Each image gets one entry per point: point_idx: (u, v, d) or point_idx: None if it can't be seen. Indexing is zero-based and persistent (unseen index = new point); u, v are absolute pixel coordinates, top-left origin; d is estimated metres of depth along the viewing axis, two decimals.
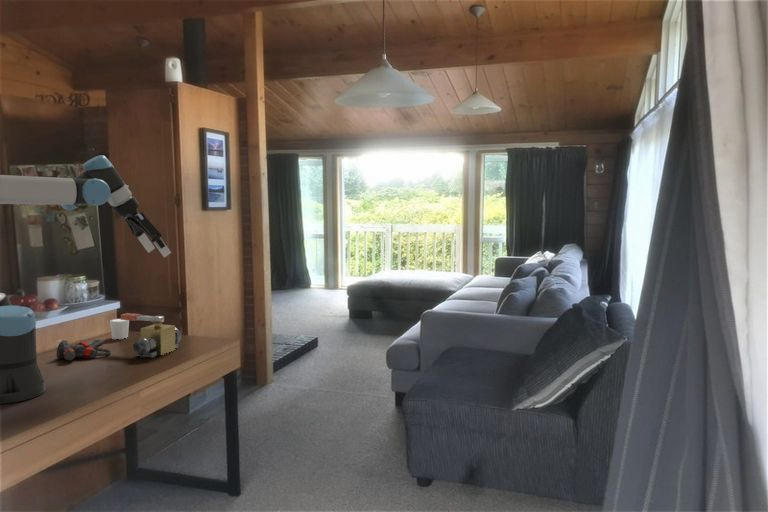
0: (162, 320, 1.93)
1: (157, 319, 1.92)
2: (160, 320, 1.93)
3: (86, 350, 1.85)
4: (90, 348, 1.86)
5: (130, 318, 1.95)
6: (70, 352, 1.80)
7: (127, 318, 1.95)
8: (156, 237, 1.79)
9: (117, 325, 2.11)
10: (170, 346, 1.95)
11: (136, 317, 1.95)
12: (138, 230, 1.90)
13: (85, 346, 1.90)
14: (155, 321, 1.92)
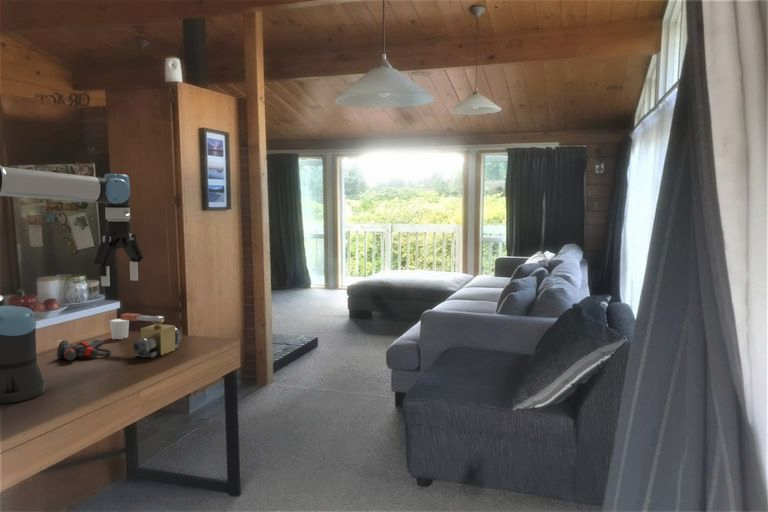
0: (162, 320, 1.93)
1: (157, 319, 1.92)
2: (160, 320, 1.93)
3: (87, 350, 1.85)
4: (91, 348, 1.86)
5: (130, 318, 1.95)
6: (71, 352, 1.80)
7: (127, 318, 1.95)
8: (95, 262, 1.78)
9: (117, 325, 2.11)
10: (170, 346, 1.95)
11: (136, 317, 1.95)
12: (131, 255, 1.93)
13: (85, 346, 1.90)
14: (155, 321, 1.92)
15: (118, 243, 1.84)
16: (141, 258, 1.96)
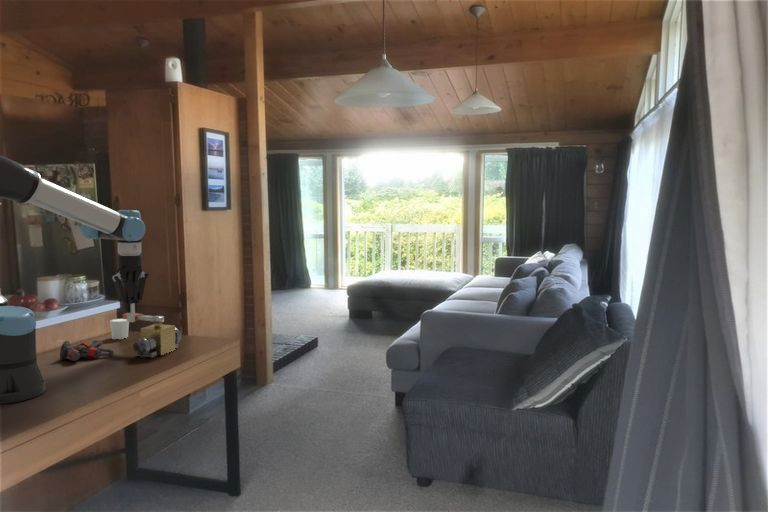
0: (162, 320, 1.93)
1: (157, 319, 1.92)
2: (160, 320, 1.93)
3: (90, 350, 1.85)
4: (94, 348, 1.86)
5: None
6: (75, 353, 1.80)
7: None
8: (120, 300, 1.91)
9: (117, 325, 2.11)
10: (170, 346, 1.95)
11: (137, 317, 1.95)
12: (132, 293, 1.94)
13: (87, 346, 1.90)
14: (155, 321, 1.92)
15: (129, 278, 1.91)
16: (139, 299, 1.96)
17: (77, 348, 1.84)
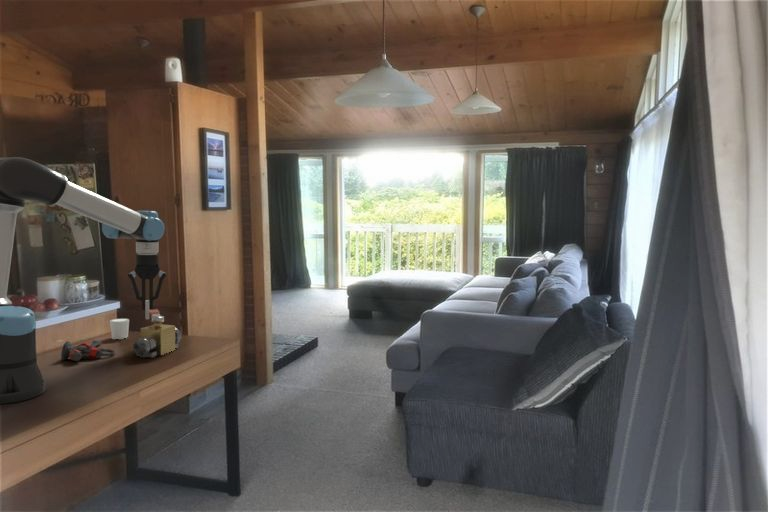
0: (158, 321, 1.92)
1: (153, 319, 1.92)
2: (155, 320, 1.92)
3: (92, 350, 1.84)
4: (95, 348, 1.86)
5: (149, 314, 2.02)
6: (77, 353, 1.79)
7: (149, 314, 2.03)
8: None
9: (117, 325, 2.11)
10: (170, 346, 1.95)
11: (151, 314, 2.00)
12: (149, 292, 2.01)
13: (88, 347, 1.90)
14: (152, 321, 1.93)
15: (143, 276, 1.98)
16: (155, 298, 2.01)
17: (78, 348, 1.84)
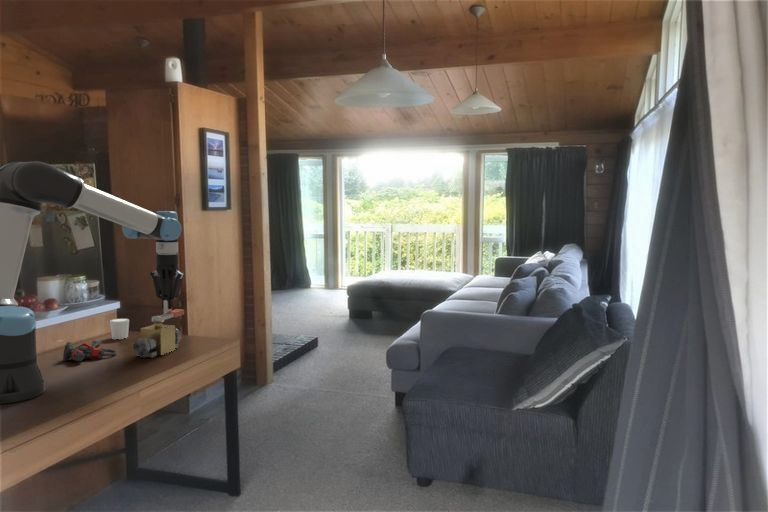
0: (154, 321, 1.92)
1: None
2: (152, 320, 1.93)
3: (94, 351, 1.84)
4: (97, 348, 1.86)
5: None
6: (80, 353, 1.79)
7: None
8: None
9: (117, 325, 2.11)
10: (170, 346, 1.95)
11: None
12: None
13: (89, 347, 1.89)
14: None
15: (161, 275, 2.01)
16: (172, 298, 2.01)
17: (80, 349, 1.84)
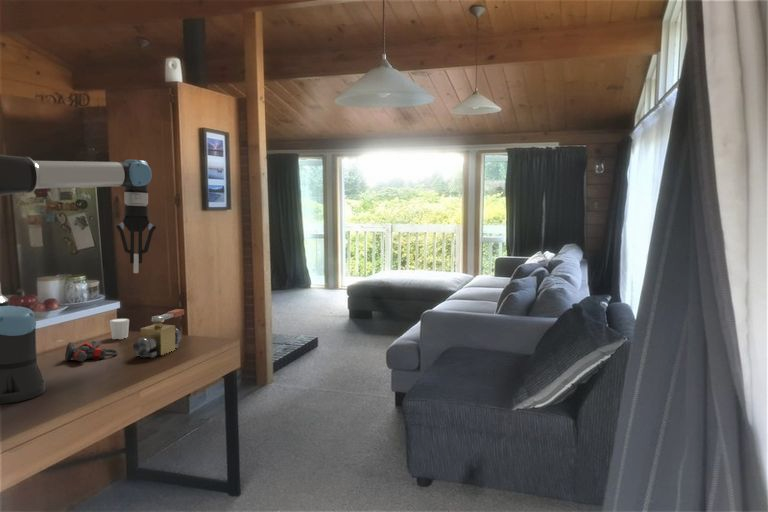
0: (154, 321, 1.92)
1: None
2: (152, 320, 1.93)
3: (96, 351, 1.84)
4: (99, 349, 1.86)
5: None
6: (82, 353, 1.79)
7: None
8: None
9: (117, 325, 2.11)
10: (170, 346, 1.95)
11: None
12: (138, 245, 1.94)
13: (90, 347, 1.89)
14: None
15: (132, 228, 1.91)
16: (145, 251, 1.94)
17: (82, 349, 1.83)
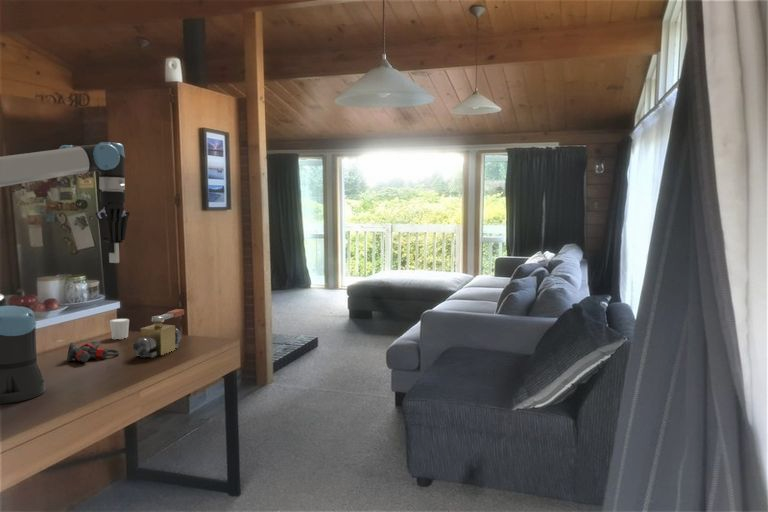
0: (154, 321, 1.92)
1: None
2: (152, 320, 1.93)
3: (98, 351, 1.84)
4: (101, 349, 1.86)
5: None
6: (85, 353, 1.79)
7: None
8: (104, 239, 1.79)
9: (117, 325, 2.11)
10: (170, 346, 1.95)
11: None
12: (115, 233, 1.83)
13: (91, 347, 1.89)
14: None
15: (114, 215, 1.80)
16: (122, 239, 1.85)
17: (84, 349, 1.83)
